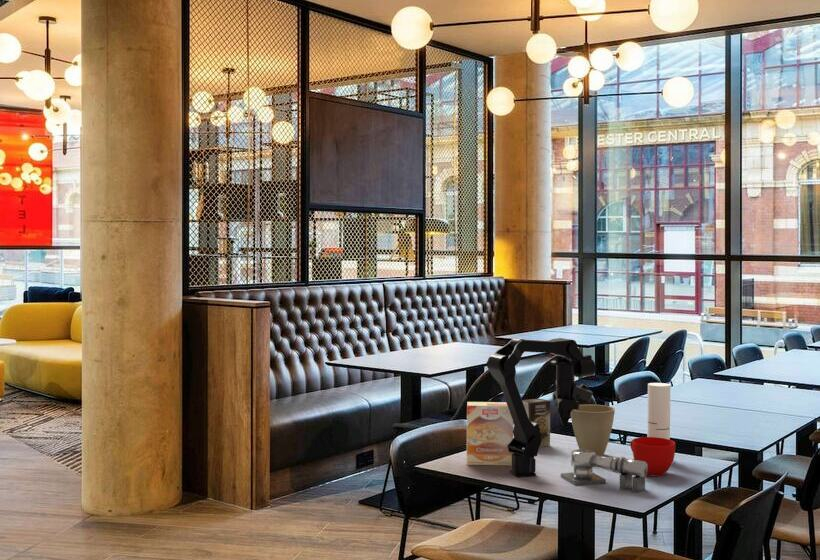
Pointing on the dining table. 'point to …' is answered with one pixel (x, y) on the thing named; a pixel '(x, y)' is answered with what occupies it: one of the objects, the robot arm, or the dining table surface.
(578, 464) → the elbow
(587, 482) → the flange plate
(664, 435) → the cylindrical container
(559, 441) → the dining table surface
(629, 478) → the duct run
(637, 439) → the red bowl
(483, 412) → the coffeecake box
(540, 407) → the coffee box
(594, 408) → the plant pot
